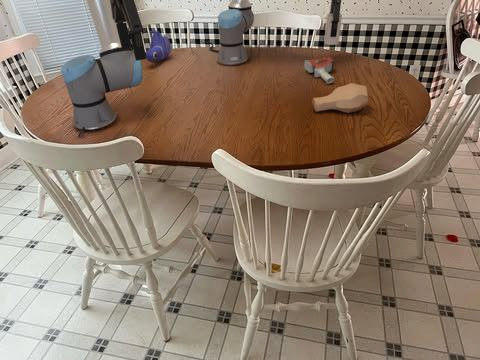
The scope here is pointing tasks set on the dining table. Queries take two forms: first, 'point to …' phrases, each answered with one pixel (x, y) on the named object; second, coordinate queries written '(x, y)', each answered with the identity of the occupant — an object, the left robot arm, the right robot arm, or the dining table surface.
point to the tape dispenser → (321, 68)
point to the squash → (343, 99)
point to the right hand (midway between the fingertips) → (332, 34)
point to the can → (328, 39)
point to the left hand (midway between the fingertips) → (133, 53)
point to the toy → (158, 47)
